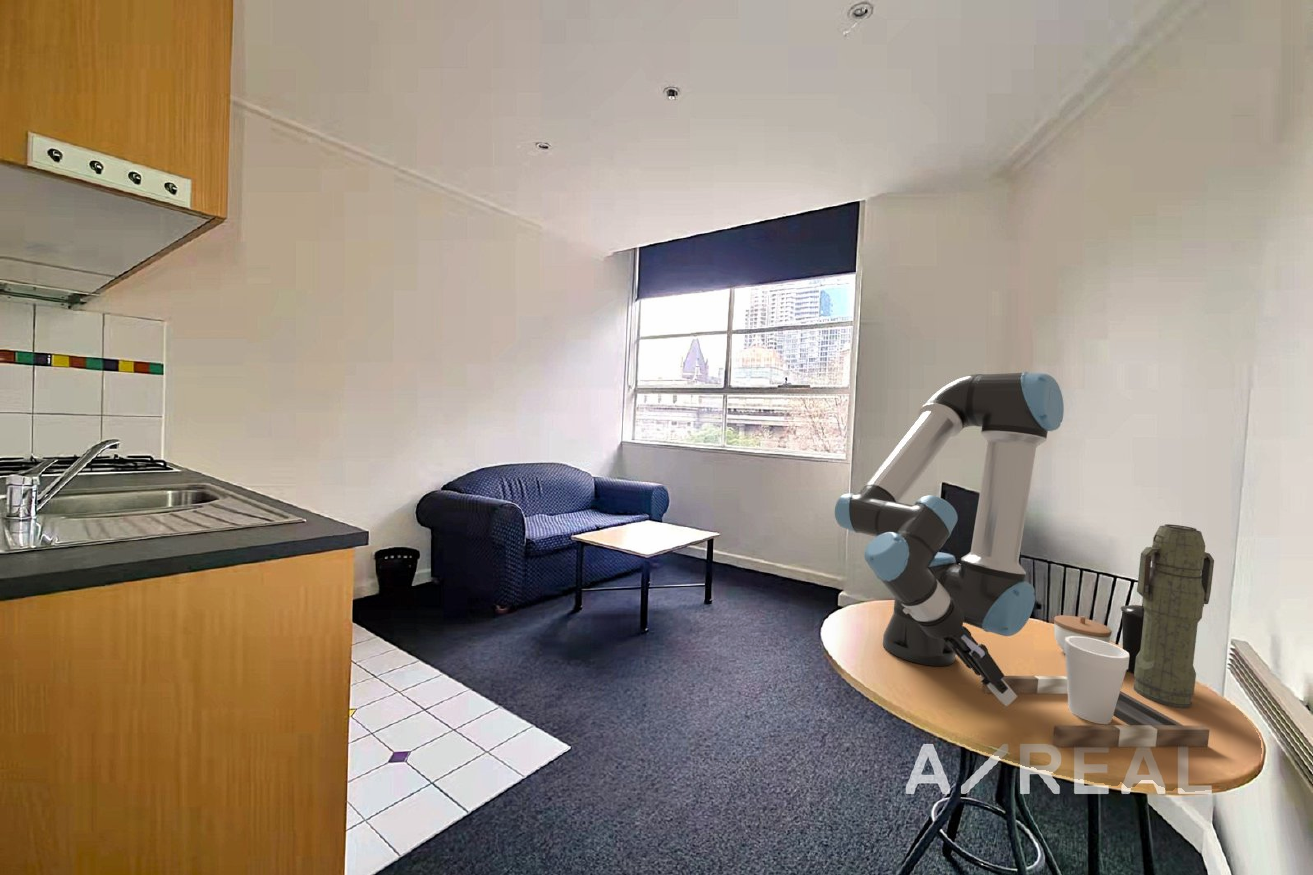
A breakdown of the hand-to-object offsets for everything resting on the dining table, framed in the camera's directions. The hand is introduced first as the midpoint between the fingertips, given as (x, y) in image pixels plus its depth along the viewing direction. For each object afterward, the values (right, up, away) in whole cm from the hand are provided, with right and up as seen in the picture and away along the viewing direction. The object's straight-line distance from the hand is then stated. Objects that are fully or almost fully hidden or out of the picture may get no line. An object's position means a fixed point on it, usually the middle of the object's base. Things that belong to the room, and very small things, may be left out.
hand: (1009, 699), depth 99 cm
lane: (+16, -4, +2) cm, 16 cm away
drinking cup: (+43, -5, +23) cm, 49 cm away
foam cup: (+17, -4, +2) cm, 17 cm away
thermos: (+39, -5, +11) cm, 40 cm away
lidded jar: (+36, -4, +30) cm, 47 cm away
